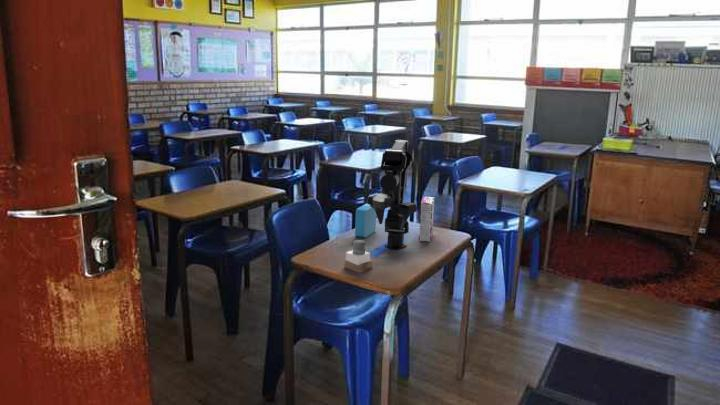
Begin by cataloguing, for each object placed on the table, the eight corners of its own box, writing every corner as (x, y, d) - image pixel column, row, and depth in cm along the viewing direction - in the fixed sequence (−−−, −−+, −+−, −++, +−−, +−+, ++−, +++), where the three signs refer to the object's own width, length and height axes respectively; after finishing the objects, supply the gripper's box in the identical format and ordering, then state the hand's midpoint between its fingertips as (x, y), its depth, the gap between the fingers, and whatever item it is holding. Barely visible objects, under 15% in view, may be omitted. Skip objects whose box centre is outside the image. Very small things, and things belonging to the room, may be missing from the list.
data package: (366, 229, 232) (367, 202, 229) (375, 230, 230) (376, 204, 227) (354, 237, 221) (355, 209, 218) (364, 238, 219) (365, 210, 216)
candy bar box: (420, 233, 229) (423, 196, 225) (432, 234, 228) (435, 197, 224) (418, 241, 218) (420, 202, 214) (430, 242, 217) (433, 203, 213)
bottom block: (357, 263, 193) (357, 255, 193) (372, 268, 189) (372, 260, 188) (344, 268, 188) (344, 260, 188) (359, 273, 184) (359, 265, 183)
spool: (358, 249, 190) (359, 239, 189) (367, 253, 187) (368, 242, 186) (350, 252, 187) (350, 241, 186) (359, 255, 184) (359, 244, 183)
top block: (357, 256, 192) (358, 248, 191) (369, 261, 188) (370, 253, 187) (345, 260, 188) (346, 252, 187) (357, 265, 184) (358, 256, 183)
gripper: (357, 183, 189) (356, 225, 193) (399, 193, 177) (397, 237, 181) (377, 179, 197) (376, 219, 201) (419, 188, 185) (416, 231, 189)
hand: (390, 226), depth 193 cm, fingers open, 9 cm apart
